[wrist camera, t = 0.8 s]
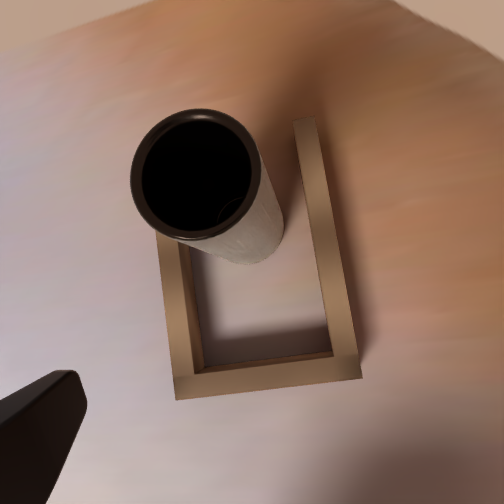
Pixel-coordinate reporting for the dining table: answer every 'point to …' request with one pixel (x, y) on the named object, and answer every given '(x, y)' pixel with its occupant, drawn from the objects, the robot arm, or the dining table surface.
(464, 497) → the dining table surface
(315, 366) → the tan u-shaped frame
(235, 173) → the planter
